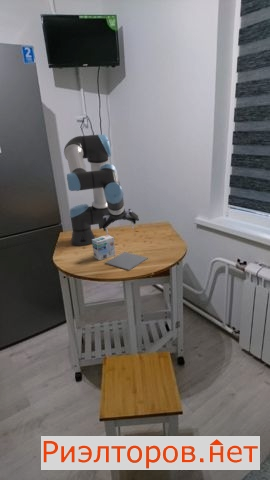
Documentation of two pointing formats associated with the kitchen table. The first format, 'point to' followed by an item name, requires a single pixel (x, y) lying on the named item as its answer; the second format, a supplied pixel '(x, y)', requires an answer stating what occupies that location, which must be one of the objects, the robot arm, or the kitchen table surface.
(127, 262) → the grey mat
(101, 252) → the light bulb box
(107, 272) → the kitchen table surface
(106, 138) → the robot arm
